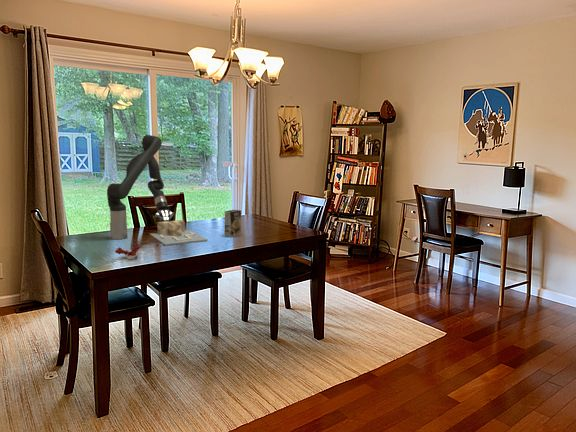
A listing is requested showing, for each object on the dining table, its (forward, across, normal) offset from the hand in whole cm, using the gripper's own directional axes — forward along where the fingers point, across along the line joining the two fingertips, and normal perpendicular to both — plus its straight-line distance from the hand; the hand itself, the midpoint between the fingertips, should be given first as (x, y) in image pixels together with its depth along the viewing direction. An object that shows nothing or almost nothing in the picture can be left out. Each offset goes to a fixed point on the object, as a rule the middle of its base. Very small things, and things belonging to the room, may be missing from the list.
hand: (167, 225), depth 295 cm
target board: (+18, 0, -11) cm, 21 cm away
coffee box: (+24, +33, -18) cm, 44 cm away
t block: (+11, 0, -6) cm, 13 cm away
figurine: (+41, -36, -34) cm, 65 cm away
